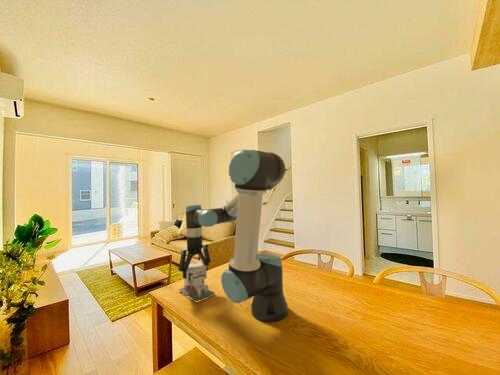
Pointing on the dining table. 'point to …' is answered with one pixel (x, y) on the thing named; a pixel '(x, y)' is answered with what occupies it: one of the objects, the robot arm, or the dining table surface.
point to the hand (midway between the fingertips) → (195, 281)
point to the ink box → (196, 276)
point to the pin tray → (197, 293)
